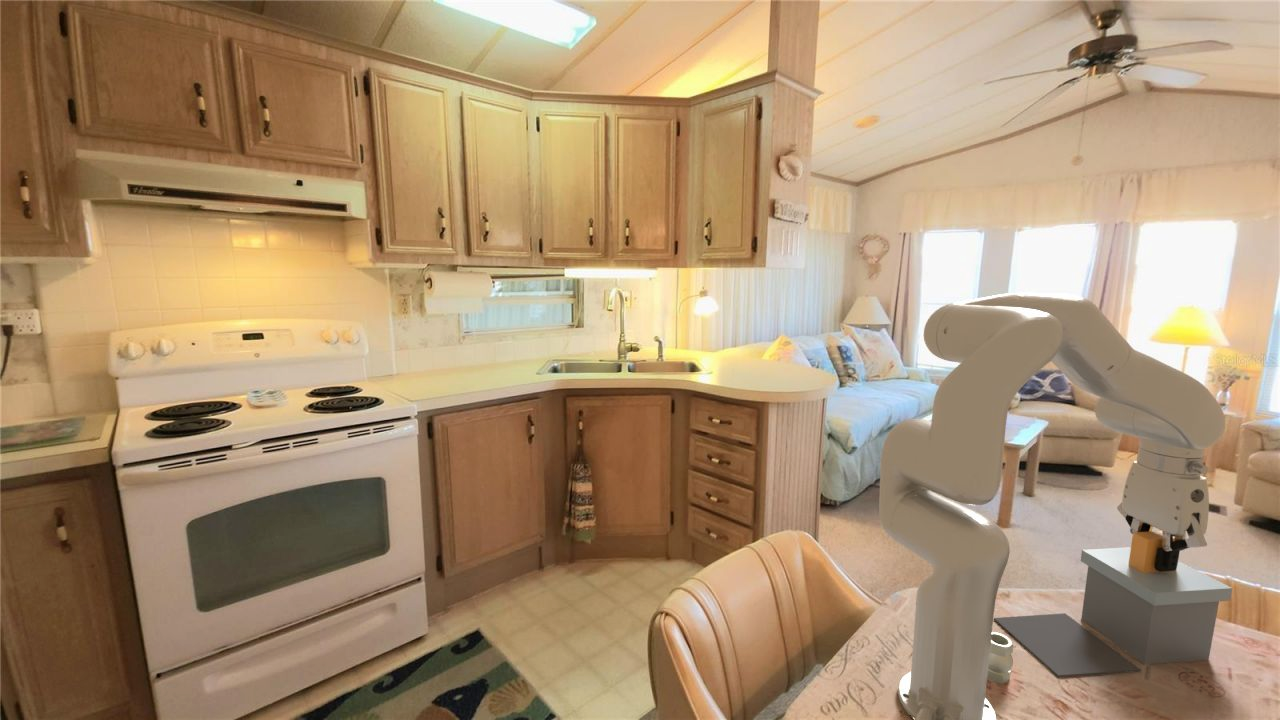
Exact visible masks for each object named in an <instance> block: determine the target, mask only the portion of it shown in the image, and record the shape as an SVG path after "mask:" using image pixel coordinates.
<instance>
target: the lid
mask: <svg viewBox="0 0 1280 720" xmlns="http://www.w3.org/2000/svg"><path fill="white" fill-rule="evenodd" d="M1173 541H1175V536H1173ZM1158 548H1162V530H1152V531H1150V532H1133V534H1132V538H1131V545H1130V546H1128V547H1127V546H1126V547H1109V548H1095V549H1094V548H1090V549H1082V550H1081V554H1080V562H1081V563H1083V564H1085V565H1086V566H1090V567H1091V568H1093V569H1095V570H1096V571H1098V572H1100V573H1101V574H1103V575H1105V576H1106V577H1108V578H1109V579H1111V580H1113V581H1114V582H1116V583H1118V584H1119V585H1121V586H1123V587H1124V588H1126V589H1128V590H1129V591H1131V592H1133V593H1134V594H1136V595H1138V596H1139V597H1141V598H1143V599H1144V600H1146V601H1147V602H1149V603H1151V604H1152V605H1154V606H1156V605H1171V604H1186V603H1202V602H1217V601H1219V602H1227V601H1228V602H1229V601H1231V599H1232V594H1233V593H1232V592H1233V587H1231V586H1229V585H1227V584H1225V583H1223V582H1221V581H1220V580H1218V579H1215V578H1214V577H1212V576H1210V575H1207V574H1205V573H1203V572H1201V571H1200V570H1198V569H1195V568H1193V567H1191V566H1190V565H1187V564H1186V563H1183V562H1181V561H1179V560H1178V564H1177V568H1176V570H1175V571H1164V572H1159V571H1157V570H1156V569H1155V562H1156V556H1157V549H1158Z"/></svg>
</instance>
